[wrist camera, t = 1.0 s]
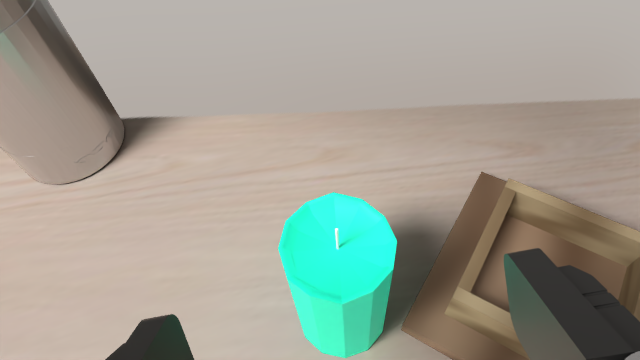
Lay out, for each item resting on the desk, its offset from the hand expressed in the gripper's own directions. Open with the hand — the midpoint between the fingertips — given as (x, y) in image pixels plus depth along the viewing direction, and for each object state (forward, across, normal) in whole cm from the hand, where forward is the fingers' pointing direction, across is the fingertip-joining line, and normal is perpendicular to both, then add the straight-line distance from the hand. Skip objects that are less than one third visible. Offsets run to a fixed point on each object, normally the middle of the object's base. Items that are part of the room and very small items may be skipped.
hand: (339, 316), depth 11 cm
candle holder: (+18, -11, +14) cm, 25 cm away
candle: (+18, +2, +12) cm, 22 cm away
